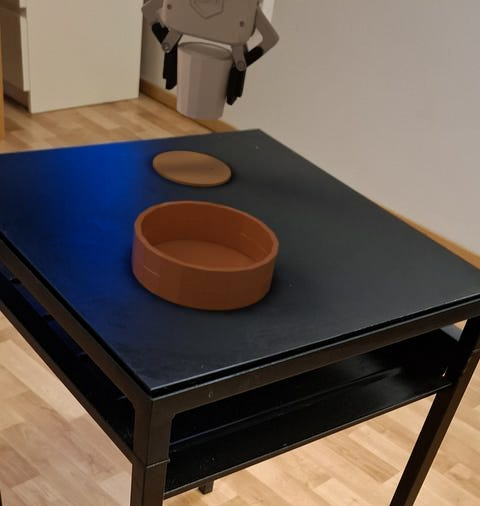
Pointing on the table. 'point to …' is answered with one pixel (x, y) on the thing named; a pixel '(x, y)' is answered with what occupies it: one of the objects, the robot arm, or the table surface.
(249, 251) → the pan
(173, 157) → the coaster
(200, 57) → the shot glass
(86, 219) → the table surface
